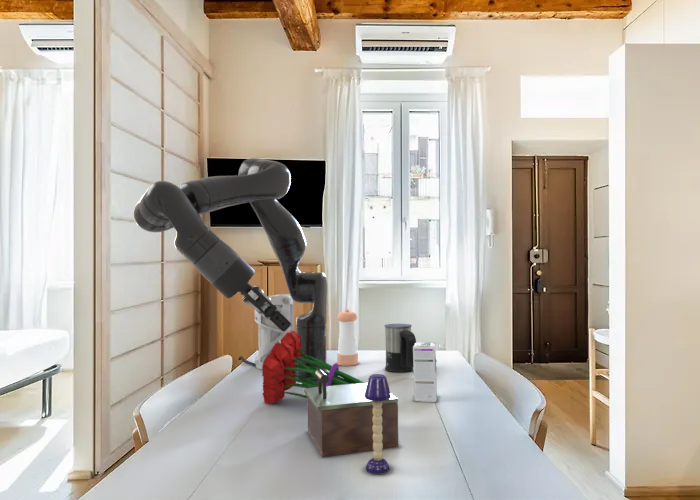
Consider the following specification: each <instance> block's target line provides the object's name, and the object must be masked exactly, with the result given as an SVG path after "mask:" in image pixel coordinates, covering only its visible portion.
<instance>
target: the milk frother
mask: <svg viewBox="0 0 700 500" xmlns="http://www.w3.org/2000/svg"><path fill="white" fill-rule="evenodd" d="M383 327H384V333H385V334H384V335H385V336H384V337H385V339H384V340H385V367H384V369H385V370H386V371H389V372H393V373H404V372H410V371H412V370H414V369H413V346H414V344H415V343H417V339H416V335H415V334H414V332H413V331H412V327H413V326H412V324H411V323H388V324H387V323H386V324H384V326H383ZM436 363H437V359H436Z"/></svg>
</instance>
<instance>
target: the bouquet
mask: <svg viewBox="0 0 700 500" xmlns="http://www.w3.org/2000/svg"><path fill="white" fill-rule="evenodd" d="M290 331H291V330H290ZM280 341H281V343H279V342H278V341H277V343H278V344H277V343H275V345H274V346H273V348H272V350H271V352H272V353H270V352H269V354H270V355H269V354H268V355H267V356H266V358H265V360H264V362H263V366H262V368H263V369H261V370H262V371H261V373H262V374H261V377H262V391H263V392H262V396H263V403H265V404H275V403H277V402H279V401H281V400H283V399H284V398H285V395H291V396H295V397H300V398H305V399H308V397H307V396H306V394H302V393H297V392H290V391H288V390H290V389H292V388H293V387H304V388H313V387H318V384H317V383H315V382H313V381H318V378H317V377H316V376H315V372H316V371H317V370H321V369H319V368H315V366H314V365H313V364H316V365H319V366H321V367H322V368H324V369H326V370H327V372H326V371H324V370H322V371H323V372H324V373H325V374H326V375H327V376H328V377H329V381H328V383H326V386H335V385H346V384H357V383H365V382H364V381H362V380H361V379H358V378H356V377H354V376H352V375H351V374H347V373H345V372H344V371H341V370H340V367H339V366H340V365H338V363H333V364H332V365H331V364H329V363H328V362H327V363H326V362H324V361H321V360H319V359H316V358H313V357H310V356H307V355H305V354H304V353H303V351H301V348H302V346H301V337H300V335H298V334H297V333H296V330H292V331H291V332H287V333H286V335H285V336H284V337H283V338H282V339H281V340H280ZM301 356H303V357H305V359H300V357H301ZM308 358H309V359H311V360H309V359H308ZM298 360H299V361H304V362H308V363H309V364H310V365H311V366H312V367H308V366H305V365H303V364H302V363H301V362H299V361H298ZM312 360H314V361H312ZM296 362H298V363H299V364H300V365H297V364H296ZM294 367H301V368H305V369H299V368H294ZM294 371H301V372H308V373H311V374H312V375H313V376H314V377H315V378H304V377H301V376H298V375H295V373H296V372H295V373H294ZM294 376H295V377H298V378H300V379H296V378H295V377H294ZM295 381H297V382H299V383H302V384H295ZM303 381H306V382H308V383H310V384H308V383H306V382H303Z"/></svg>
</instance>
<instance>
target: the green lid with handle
mask: <svg viewBox="0 0 700 500" xmlns="http://www.w3.org/2000/svg"><path fill="white" fill-rule="evenodd" d="M315 376H316V377H317V378H318V387H313V388H311V387H304V388H303V394H304V395H306V396H307V397H308V398H309V400H310V401H311V402H312V404H313V405H314V407H315V408H316V409H317V411H321V410H330V409H340V408H350V407H359V406H369V405H373V403H372V402H373V401H371V400H368V399H366V398H365V392H366V388H367V384H368V382H364V383H357V384H346V385H335V386H326V383H328V381H329V377H328V376H327V375H326V374H325V373H324V372H323V371H322V370H317V371H316V372H315ZM390 394H391V398H390V399H389V400H385V401H382V404H388V403H398V404H399V398H398V397H396V396H395V395H394V394H393V393H391V392H390ZM308 398H307V399H308Z"/></svg>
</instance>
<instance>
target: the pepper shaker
mask: <svg viewBox="0 0 700 500" xmlns="http://www.w3.org/2000/svg"><path fill="white" fill-rule="evenodd" d="M336 317H337V318H336V319H337V321H339V336H338V342H337V349H338V352H337V354H336V355H337V356H336V357H337V364H338V365H339V366H344V367H347V366H348V367H350V366H356V365H358V364H359V354H358V352H357V351H358V350H357V349H358V343H357V337H356V336H357V335H356V321H357V319H358V316H357V313H356V312H354V311H350V309H349V308H346V309H345V310H344V311H340V312H339V313H338V314H337V316H336Z"/></svg>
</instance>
